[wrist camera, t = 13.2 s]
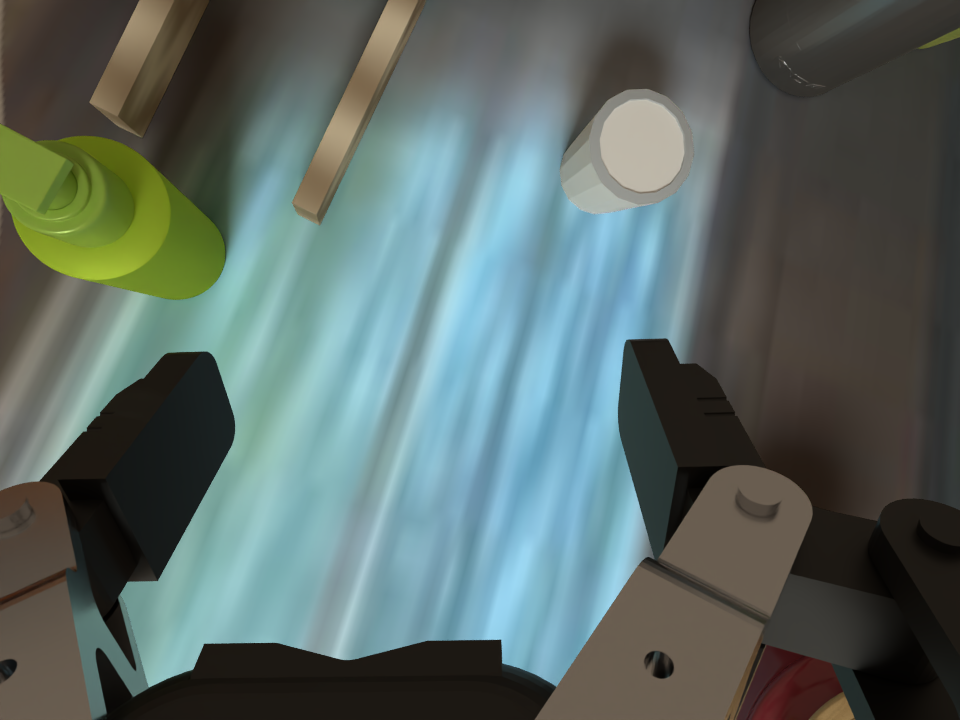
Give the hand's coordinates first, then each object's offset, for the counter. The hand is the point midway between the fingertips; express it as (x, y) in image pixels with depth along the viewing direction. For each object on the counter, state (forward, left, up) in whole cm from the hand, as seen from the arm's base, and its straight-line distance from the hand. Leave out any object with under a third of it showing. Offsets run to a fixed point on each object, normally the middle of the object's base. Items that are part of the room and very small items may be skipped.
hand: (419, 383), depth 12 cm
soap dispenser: (0, -14, -29) cm, 32 cm away
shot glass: (-17, +9, -29) cm, 35 cm away
